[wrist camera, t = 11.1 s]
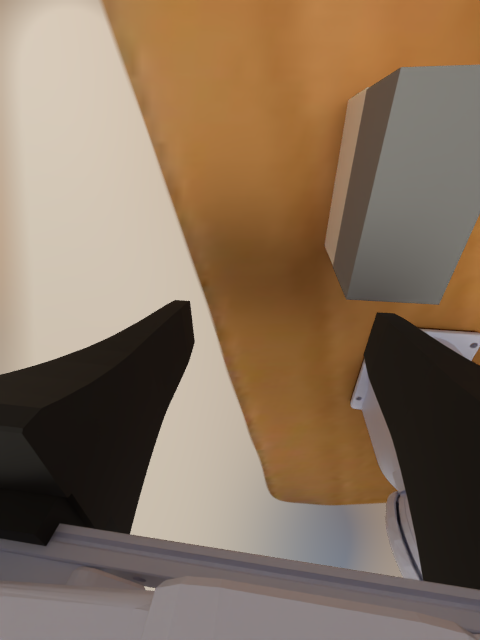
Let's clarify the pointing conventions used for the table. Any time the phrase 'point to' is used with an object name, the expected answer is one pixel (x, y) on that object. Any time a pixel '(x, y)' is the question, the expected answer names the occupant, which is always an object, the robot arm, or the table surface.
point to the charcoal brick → (411, 185)
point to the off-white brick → (344, 170)
